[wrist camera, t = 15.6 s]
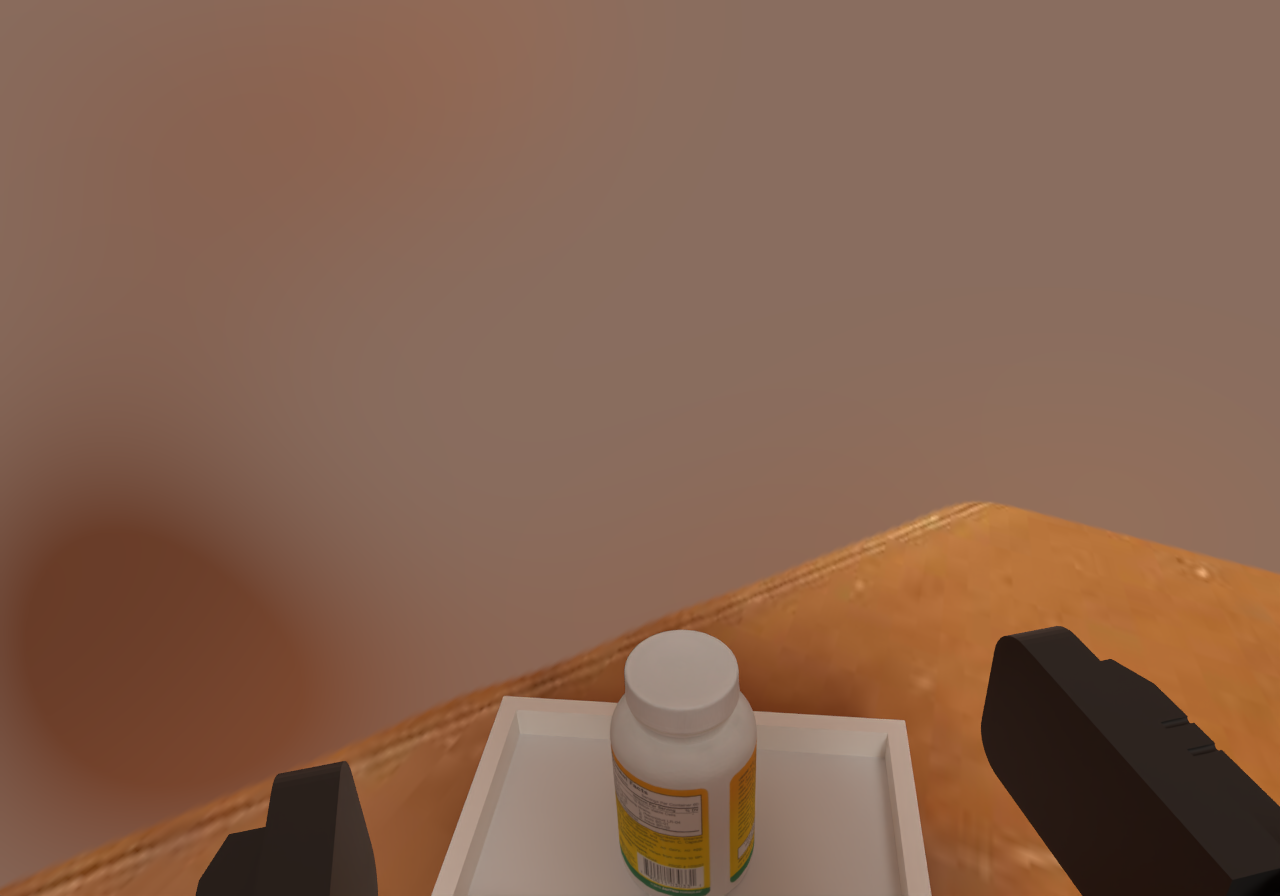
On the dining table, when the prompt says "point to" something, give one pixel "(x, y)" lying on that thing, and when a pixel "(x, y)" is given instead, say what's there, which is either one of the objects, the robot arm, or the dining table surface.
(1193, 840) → the robot arm
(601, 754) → the white footed tray
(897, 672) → the dining table surface
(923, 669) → the dining table surface
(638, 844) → the supplement bottle
